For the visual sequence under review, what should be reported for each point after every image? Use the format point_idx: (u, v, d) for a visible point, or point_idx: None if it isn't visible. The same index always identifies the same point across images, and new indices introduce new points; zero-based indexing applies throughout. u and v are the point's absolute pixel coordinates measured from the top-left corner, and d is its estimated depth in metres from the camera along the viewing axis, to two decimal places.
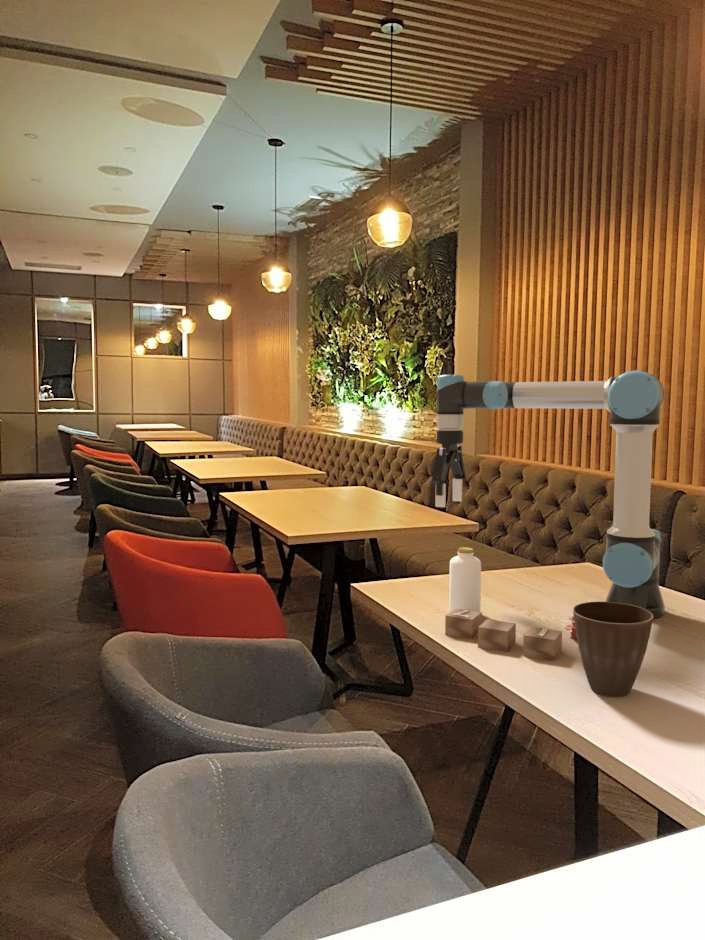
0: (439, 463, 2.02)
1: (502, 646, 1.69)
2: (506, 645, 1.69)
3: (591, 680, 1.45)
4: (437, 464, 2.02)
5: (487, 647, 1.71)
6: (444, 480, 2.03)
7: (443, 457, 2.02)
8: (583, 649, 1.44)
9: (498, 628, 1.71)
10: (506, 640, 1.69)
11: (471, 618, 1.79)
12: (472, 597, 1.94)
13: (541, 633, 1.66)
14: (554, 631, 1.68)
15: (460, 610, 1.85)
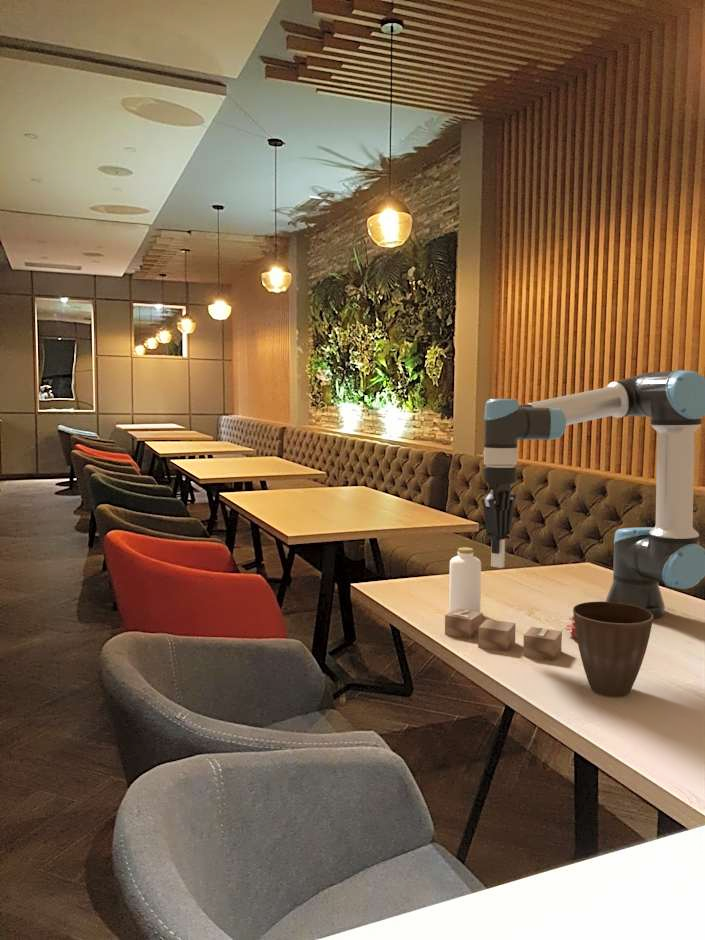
0: (489, 517, 1.67)
1: (502, 646, 1.70)
2: (507, 645, 1.69)
3: (591, 680, 1.45)
4: (487, 518, 1.67)
5: (487, 647, 1.71)
6: (501, 534, 1.70)
7: (492, 510, 1.66)
8: (583, 649, 1.44)
9: (498, 628, 1.71)
10: (507, 640, 1.69)
11: (470, 618, 1.78)
12: (472, 597, 1.94)
13: (541, 633, 1.66)
14: (554, 631, 1.68)
15: (461, 610, 1.85)
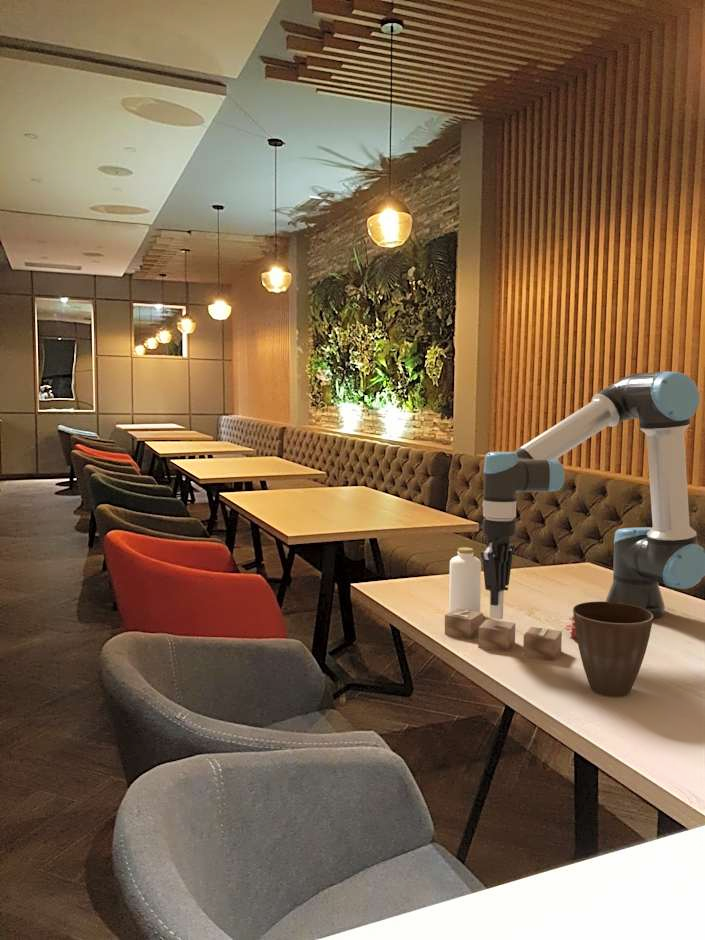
0: (488, 570, 1.68)
1: (502, 646, 1.70)
2: (507, 645, 1.69)
3: (591, 680, 1.45)
4: (486, 571, 1.69)
5: (488, 647, 1.71)
6: (500, 586, 1.71)
7: (491, 563, 1.67)
8: (583, 649, 1.44)
9: (498, 628, 1.71)
10: (507, 640, 1.69)
11: (470, 618, 1.78)
12: (472, 597, 1.94)
13: (541, 633, 1.66)
14: (554, 631, 1.68)
15: (461, 610, 1.85)
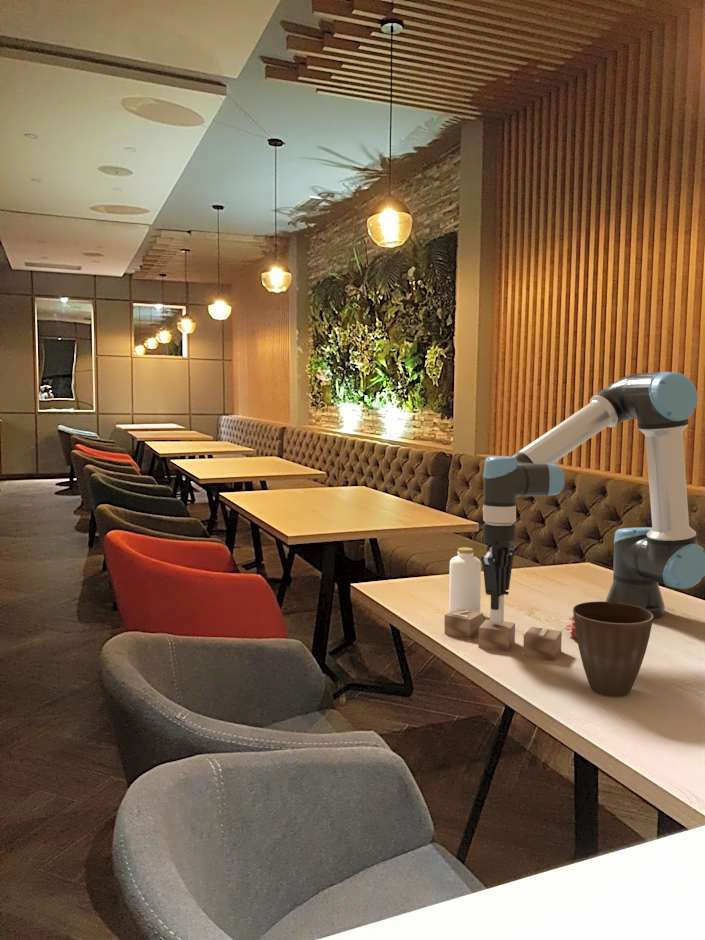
0: (488, 574, 1.68)
1: (503, 646, 1.70)
2: (507, 645, 1.69)
3: (591, 680, 1.45)
4: (486, 575, 1.69)
5: (488, 647, 1.71)
6: (500, 590, 1.71)
7: (491, 568, 1.67)
8: (583, 649, 1.44)
9: (498, 628, 1.71)
10: (507, 640, 1.69)
11: (469, 618, 1.78)
12: (472, 597, 1.94)
13: (541, 633, 1.66)
14: (554, 631, 1.68)
15: (462, 610, 1.85)
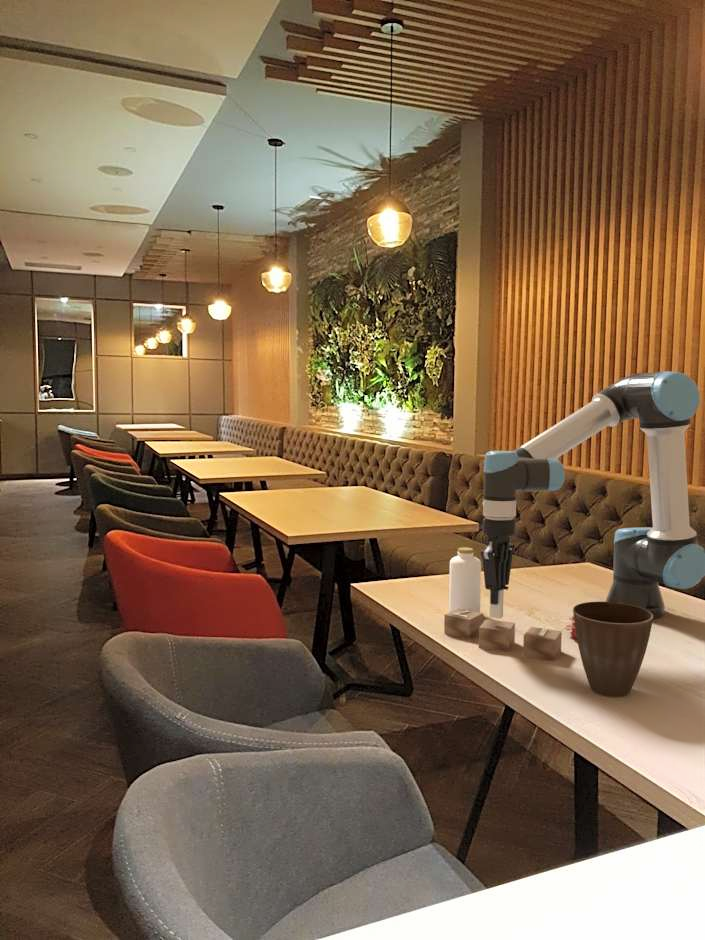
0: (488, 569, 1.68)
1: (503, 646, 1.70)
2: (507, 645, 1.69)
3: (591, 680, 1.45)
4: (486, 570, 1.69)
5: (488, 647, 1.71)
6: (500, 585, 1.71)
7: (491, 562, 1.67)
8: (583, 649, 1.44)
9: (498, 628, 1.71)
10: (507, 640, 1.69)
11: (469, 618, 1.78)
12: (472, 597, 1.94)
13: (541, 633, 1.66)
14: (554, 631, 1.68)
15: (462, 610, 1.85)
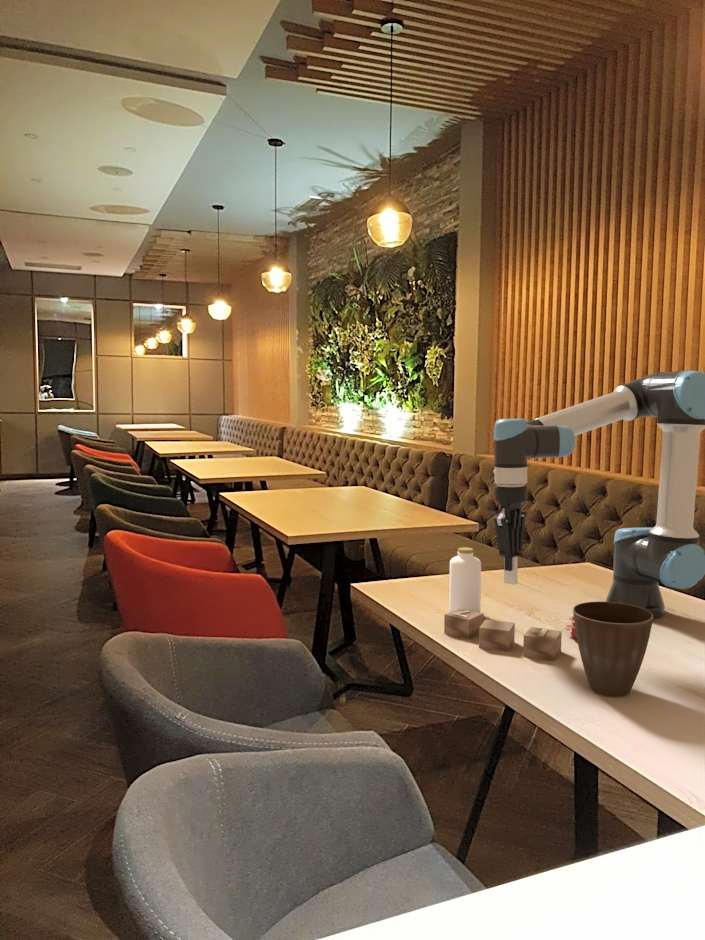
0: (502, 536, 1.70)
1: (503, 646, 1.70)
2: (508, 645, 1.69)
3: (591, 680, 1.45)
4: (500, 537, 1.70)
5: (488, 647, 1.71)
6: (513, 551, 1.73)
7: (504, 529, 1.69)
8: (583, 649, 1.44)
9: (499, 628, 1.71)
10: (508, 640, 1.69)
11: (468, 618, 1.78)
12: (472, 597, 1.94)
13: (541, 633, 1.66)
14: (554, 631, 1.68)
15: (463, 610, 1.85)
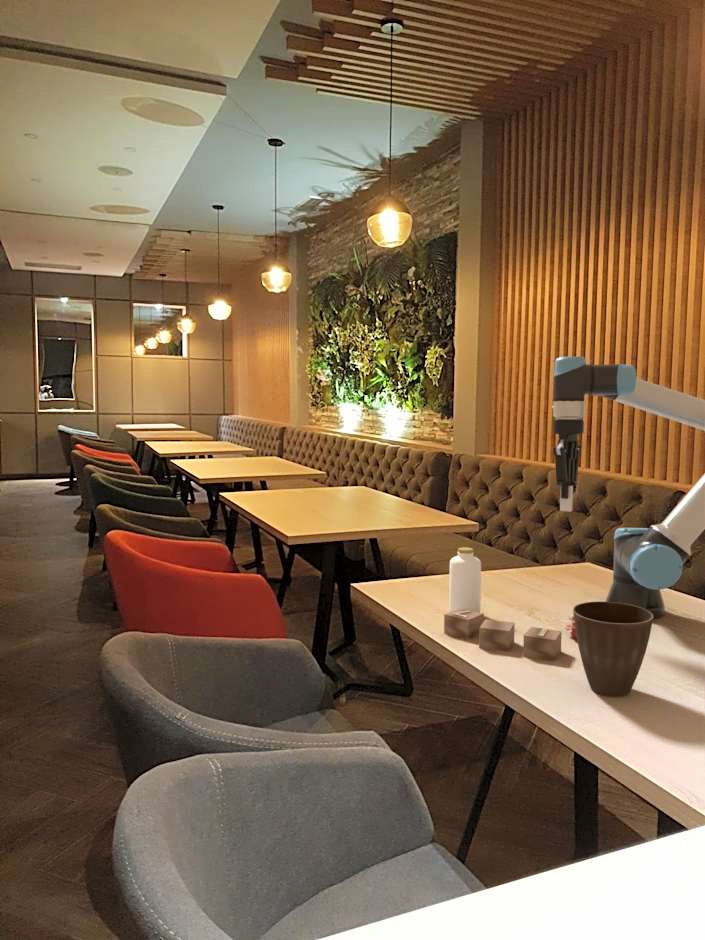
0: (560, 464, 1.83)
1: (504, 646, 1.70)
2: (508, 645, 1.69)
3: (591, 680, 1.45)
4: (558, 466, 1.84)
5: (489, 647, 1.71)
6: (570, 480, 1.86)
7: (563, 458, 1.82)
8: (583, 649, 1.44)
9: (499, 628, 1.71)
10: (508, 640, 1.69)
11: (468, 618, 1.78)
12: (472, 597, 1.94)
13: (541, 633, 1.66)
14: (554, 631, 1.68)
15: (463, 610, 1.85)
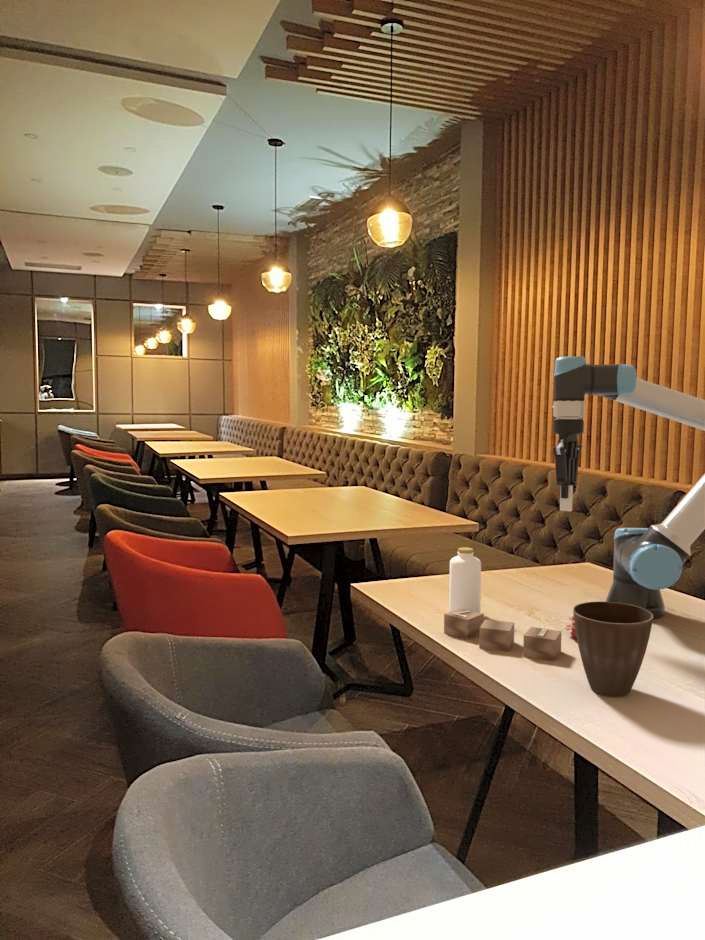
0: (560, 464, 1.83)
1: (504, 645, 1.70)
2: (508, 645, 1.69)
3: (591, 680, 1.45)
4: (558, 465, 1.84)
5: (489, 647, 1.71)
6: (570, 480, 1.86)
7: (562, 457, 1.82)
8: (583, 649, 1.44)
9: (499, 628, 1.71)
10: (508, 640, 1.69)
11: (467, 618, 1.78)
12: (472, 597, 1.94)
13: (541, 633, 1.66)
14: (554, 631, 1.68)
15: (463, 610, 1.85)
